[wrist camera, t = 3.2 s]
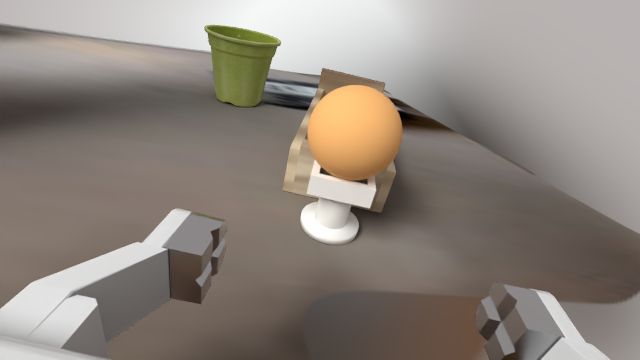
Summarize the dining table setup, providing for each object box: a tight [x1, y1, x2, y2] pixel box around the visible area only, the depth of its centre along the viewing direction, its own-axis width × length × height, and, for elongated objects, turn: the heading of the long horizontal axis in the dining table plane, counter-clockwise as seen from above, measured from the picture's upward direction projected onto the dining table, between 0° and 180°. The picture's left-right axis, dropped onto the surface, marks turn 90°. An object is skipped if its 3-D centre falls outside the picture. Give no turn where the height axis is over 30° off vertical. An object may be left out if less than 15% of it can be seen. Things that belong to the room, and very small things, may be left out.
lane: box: [283, 68, 396, 213], centre depth 35 cm, size 22×9×7 cm, turn 174°
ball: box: [307, 85, 402, 180], centre depth 20 cm, size 6×6×6 cm
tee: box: [300, 160, 376, 245], centre depth 23 cm, size 4×4×5 cm
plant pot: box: [205, 25, 281, 107], centre depth 42 cm, size 9×9×9 cm
